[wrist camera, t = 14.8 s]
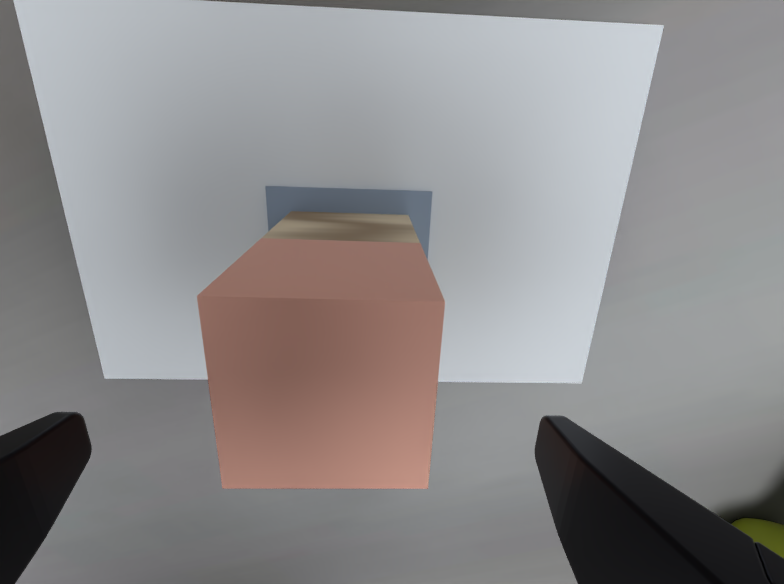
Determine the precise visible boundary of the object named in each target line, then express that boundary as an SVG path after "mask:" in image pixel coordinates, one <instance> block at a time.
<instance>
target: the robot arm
mask: <svg viewBox="0 0 784 584" xmlns="http://www.w3.org/2000/svg"><path fill="white" fill-rule="evenodd" d="M90 455H91V442H90V439H89V435H88V431H87V428H86V424H85V420H84V418H83V416H82V415H81V414H80V413H78V412H55V413H52V414H50V415H47V416H45V417H43V418H41V419H38V420H36V421H34V422H31V423H29V424H27V425H25V426H22V427H20V428H18V429H15V430H13V431H11V432H9V433H6V434H4V435H2V436H0V584H15V583H16V581H17V580H18V579H19V577H20V576H21V574H22V573H23V571H24V570H25V568H26V567H27V565H28V564H29V562H30V561H31V559H32V558H33V556H34V555H35V553H36V552H37V550H38V549H39V547H40V546H41V544H42V542H43V541H44V539H45V538H46V536H47V534H48V532H49V531H50V529H51V527H52V526H53V524H54V522H55V520H56V519H57V517H58V515H59V513H60V511H61V510H62V508H63V506H64V504H65V502H66V501H67V499H68V497H69V495H70V493H71V491H72V490H73V488H74V486H75V484H76V482H77V481H78V479H79V477H80V475H81V473H82V472H83V470H84V468H85V466H86V464H87V463H88V461H89V458H90ZM535 459H536V463H537V466H538V470H539V473H540V476H541V480H542V483H543V486H544V490H545V493H546V496H547V500H548V503H549V507H550V510H551V513H552V517H553V520H554V523H555V526H556V529H557V533H558V536H559V538H560V541H561V543H562V546H563V549H564V551H565V553H566V556H567V558H568V561H569V563H570V566H571V568H572V570H573V573H574V575H575V578H576V580H577V583H578V584H784V558H782V557H781V556H779V555H778V554H776V553H775V552H773V551H772V550H770V549H769V548H767V547H766V546H764V545H763V544H761V543H759V542H754V540H753V539H752V538H751V537H750V536H748V535H747V534H745V533H744V532H742V531H741V530H739V529H738V528H736V527H734V526H733V525H731V524H730V523H728V522H727V521H725V520H724V519H722V518H721V517H719V516H717V515H716V514H714V513H713V512H711V511H710V510H708V509H707V508H705V507H704V506H702V505H700V504H699V503H697V502H696V501H694V500H693V499H691V498H690V497H688V496H687V495H685V494H684V493H682V492H680V491H679V490H677V489H676V488H674V487H673V486H671V485H670V484H668V483H667V482H665V481H663V480H662V479H660V478H659V477H657V476H656V475H654V474H653V473H651V472H650V471H648V470H646V469H645V468H643V467H642V466H640V465H639V464H637V463H636V462H634V461H633V460H631V459H629V458H628V457H626V456H625V455H623V454H622V453H620V452H619V451H617V450H616V449H614V448H612V447H611V446H609V445H608V444H606V443H605V442H603V441H602V440H600V439H599V438H597V437H595V436H594V435H592V434H591V433H589V432H588V431H586V430H585V429H583V428H582V427H580V426H578V425H577V424H575V423H574V422H572V421H571V420H569V419H568V418H566V417H564V416H544V417H542V419H541V421H540V425H539V430H538V435H537V440H536V445H535Z"/></svg>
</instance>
